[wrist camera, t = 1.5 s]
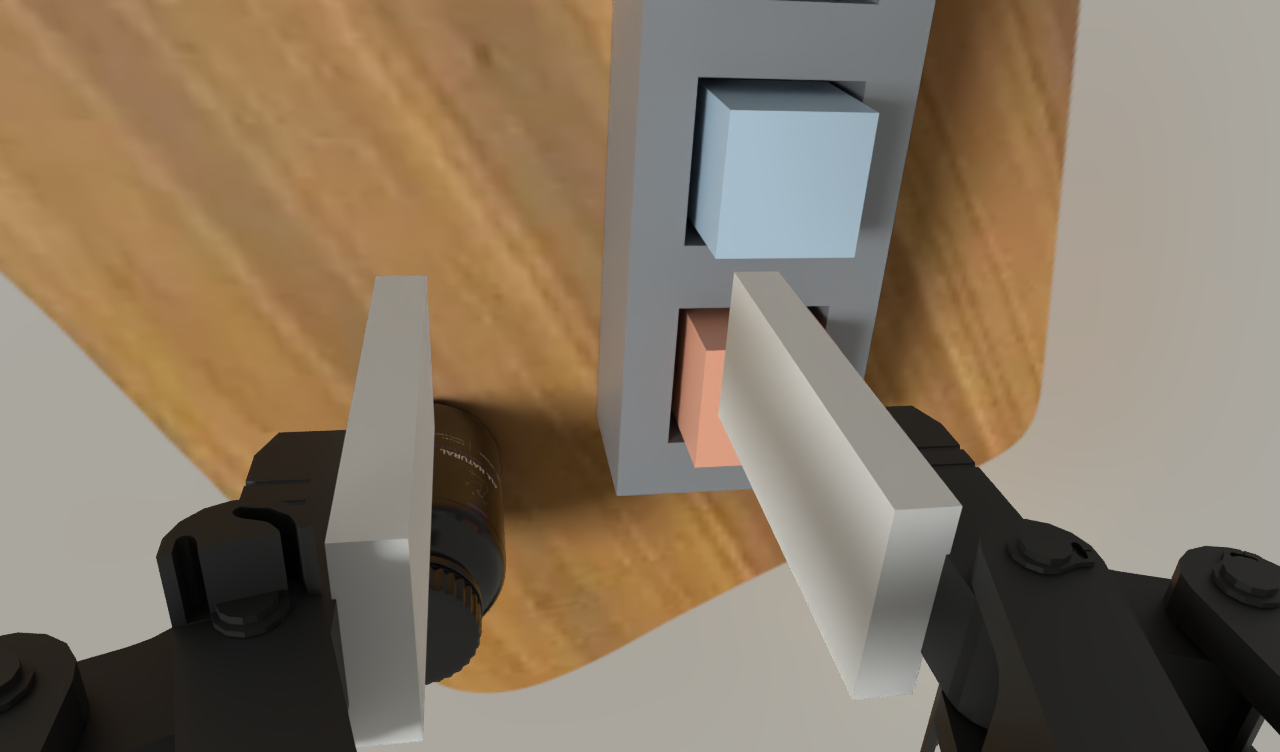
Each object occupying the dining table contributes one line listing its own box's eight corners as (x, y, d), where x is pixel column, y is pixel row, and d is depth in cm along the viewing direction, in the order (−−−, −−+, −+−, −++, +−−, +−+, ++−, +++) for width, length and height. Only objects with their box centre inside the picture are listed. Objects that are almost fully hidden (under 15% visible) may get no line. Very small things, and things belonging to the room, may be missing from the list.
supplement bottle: (506, 400, 44) (522, 567, 34) (493, 520, 47) (504, 707, 37) (352, 392, 42) (318, 565, 32) (349, 516, 46) (318, 711, 35)
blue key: (695, 78, 34) (730, 109, 30) (827, 81, 35) (879, 113, 31) (684, 211, 37) (715, 258, 32) (808, 211, 38) (854, 257, 33)
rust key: (678, 295, 38) (706, 350, 34) (796, 293, 39) (838, 347, 35) (669, 402, 41) (694, 467, 36) (781, 398, 42) (819, 461, 37)
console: (625, -299, 32) (661, -332, 26) (902, -272, 34) (992, -298, 28) (596, 416, 45) (616, 496, 40) (797, 409, 47) (844, 484, 41)
